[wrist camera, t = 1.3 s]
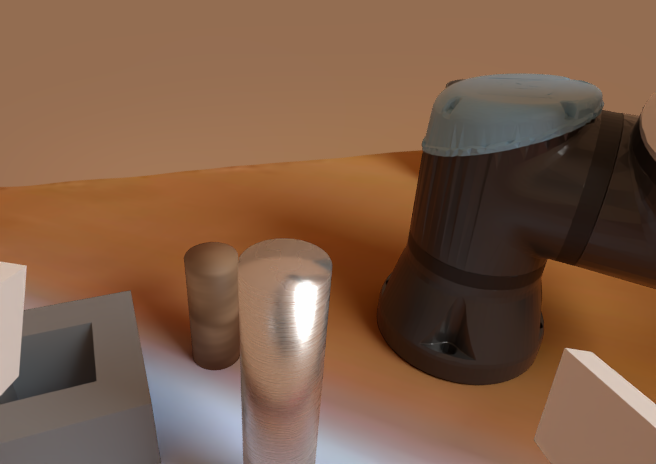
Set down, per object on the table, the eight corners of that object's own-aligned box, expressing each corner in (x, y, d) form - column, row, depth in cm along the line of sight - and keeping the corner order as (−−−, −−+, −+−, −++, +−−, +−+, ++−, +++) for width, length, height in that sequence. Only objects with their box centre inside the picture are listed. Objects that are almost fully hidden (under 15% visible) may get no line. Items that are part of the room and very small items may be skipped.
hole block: (139, 345, 45) (130, 290, 42) (161, 463, 36) (151, 403, 33) (-23, 382, 41) (-47, 323, 37) (-47, 527, 31) (-81, 465, 28)
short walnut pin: (233, 332, 47) (230, 238, 42) (246, 362, 44) (244, 266, 39) (188, 342, 46) (179, 247, 41) (198, 375, 43) (189, 276, 37)
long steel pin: (296, 487, 35) (311, 232, 25) (319, 545, 32) (347, 281, 21) (237, 508, 33) (227, 246, 23) (255, 571, 30) (253, 301, 20)
